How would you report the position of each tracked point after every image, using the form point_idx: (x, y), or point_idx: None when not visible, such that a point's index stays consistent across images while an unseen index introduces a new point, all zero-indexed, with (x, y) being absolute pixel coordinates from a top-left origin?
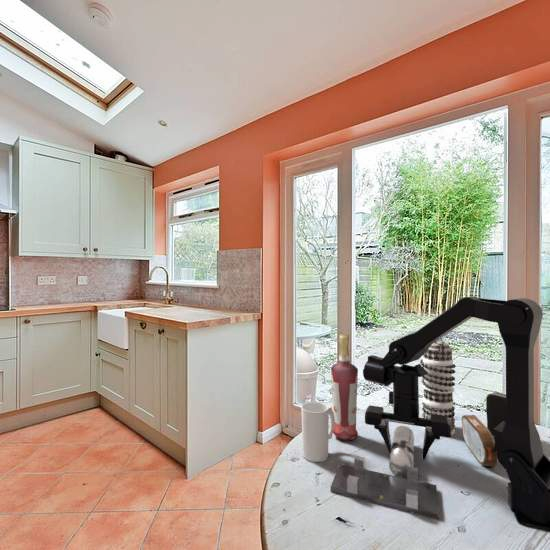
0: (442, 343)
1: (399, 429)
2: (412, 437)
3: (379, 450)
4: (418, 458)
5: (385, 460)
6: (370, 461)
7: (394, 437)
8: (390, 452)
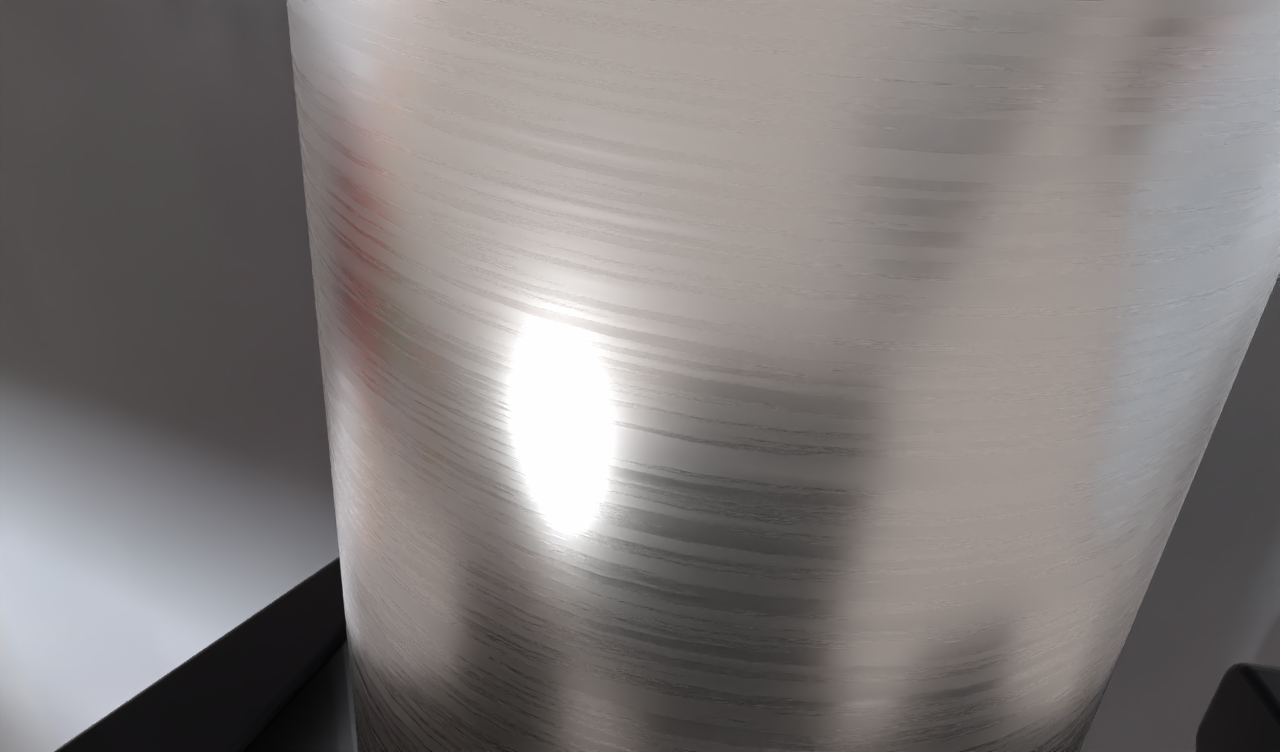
0: None
1: (512, 16)
2: (1268, 288)
3: (119, 282)
4: None
5: None
6: (94, 721)
7: (354, 590)
8: None
